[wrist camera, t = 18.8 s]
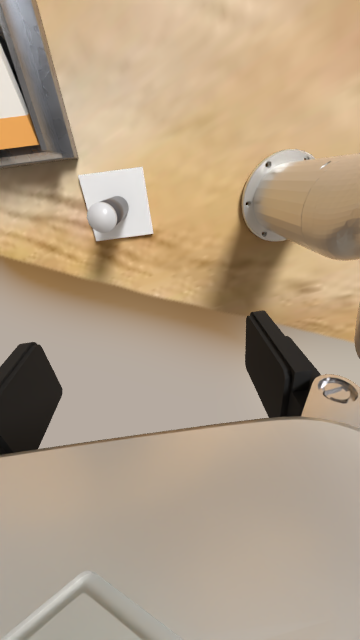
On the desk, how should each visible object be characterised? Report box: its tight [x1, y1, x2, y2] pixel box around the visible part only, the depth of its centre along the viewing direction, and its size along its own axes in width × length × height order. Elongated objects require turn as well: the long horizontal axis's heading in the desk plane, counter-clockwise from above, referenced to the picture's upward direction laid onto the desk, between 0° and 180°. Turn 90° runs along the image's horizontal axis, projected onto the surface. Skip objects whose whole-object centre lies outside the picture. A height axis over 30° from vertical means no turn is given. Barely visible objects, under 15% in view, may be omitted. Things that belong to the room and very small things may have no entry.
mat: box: [78, 167, 153, 241], centre depth 37 cm, size 9×9×1 cm
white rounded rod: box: [87, 196, 129, 233], centre depth 31 cm, size 3×3×12 cm
